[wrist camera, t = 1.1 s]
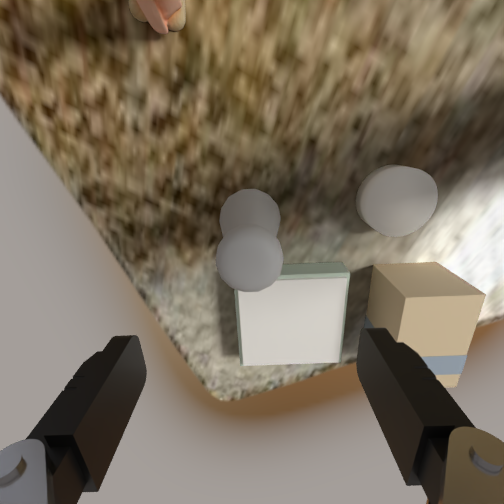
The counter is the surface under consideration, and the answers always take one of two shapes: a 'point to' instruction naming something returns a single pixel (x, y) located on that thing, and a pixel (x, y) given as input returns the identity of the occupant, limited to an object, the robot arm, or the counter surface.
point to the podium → (295, 316)
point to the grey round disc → (396, 199)
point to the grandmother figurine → (160, 13)
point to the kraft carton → (426, 313)
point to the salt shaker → (249, 241)
